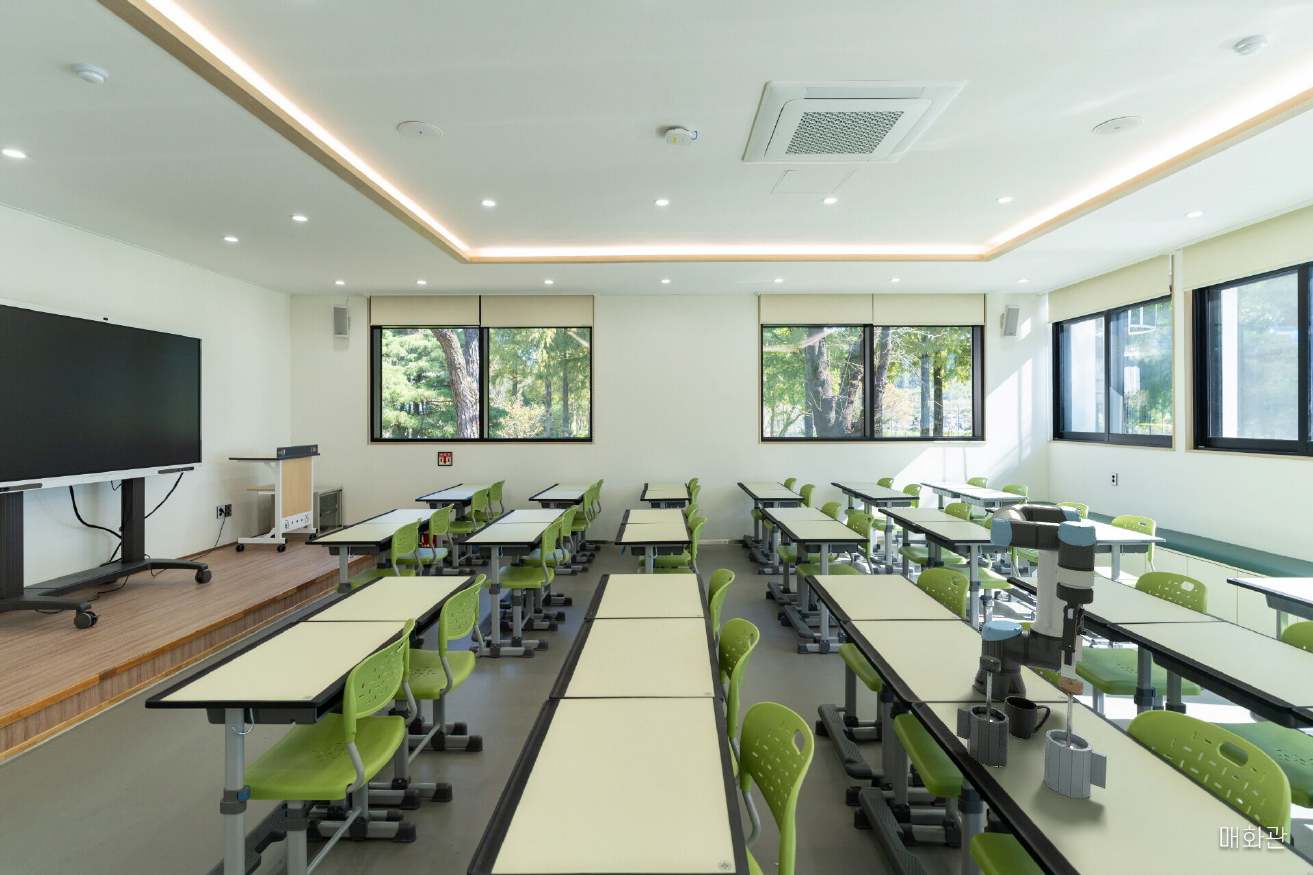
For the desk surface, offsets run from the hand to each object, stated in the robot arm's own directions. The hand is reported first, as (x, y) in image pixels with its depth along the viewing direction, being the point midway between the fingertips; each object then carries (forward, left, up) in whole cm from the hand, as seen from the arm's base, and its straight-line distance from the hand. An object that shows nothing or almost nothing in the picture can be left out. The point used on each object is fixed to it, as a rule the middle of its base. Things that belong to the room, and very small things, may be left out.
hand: (1071, 668), depth 143 cm
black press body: (0, -20, -31) cm, 36 cm away
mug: (-20, -12, -31) cm, 39 cm away
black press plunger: (0, -18, -21) cm, 28 cm away
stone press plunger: (0, 0, -21) cm, 21 cm away
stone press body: (0, +1, -31) cm, 31 cm away
